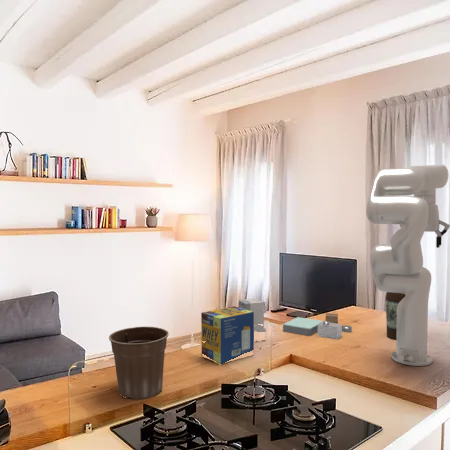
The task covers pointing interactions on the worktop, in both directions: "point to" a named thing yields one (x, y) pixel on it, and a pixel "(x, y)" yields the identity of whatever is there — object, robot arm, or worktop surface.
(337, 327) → the block
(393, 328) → the printed label canister
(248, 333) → the protein box
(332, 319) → the walnut block
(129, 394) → the plant pot
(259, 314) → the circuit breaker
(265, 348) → the worktop surface
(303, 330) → the stand
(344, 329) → the steel spacer
